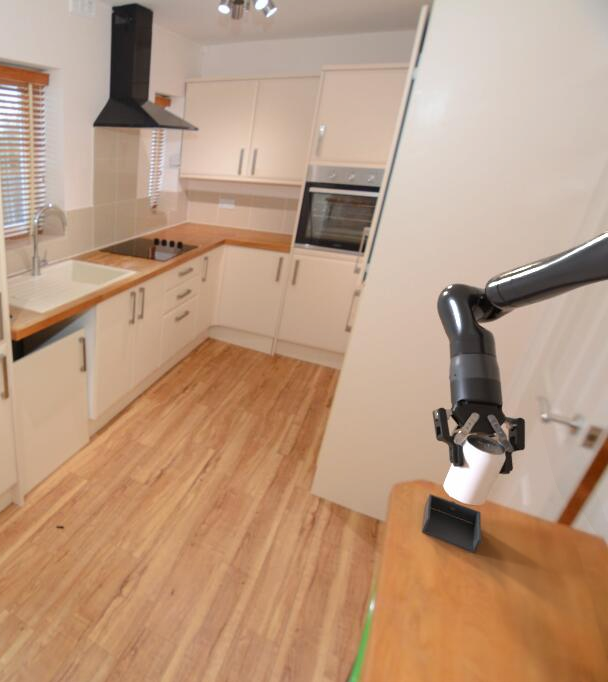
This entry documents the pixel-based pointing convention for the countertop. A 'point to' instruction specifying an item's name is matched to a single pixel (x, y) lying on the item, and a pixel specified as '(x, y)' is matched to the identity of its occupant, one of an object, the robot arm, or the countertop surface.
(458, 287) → the robot arm
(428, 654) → the countertop surface
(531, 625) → the countertop surface
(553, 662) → the countertop surface
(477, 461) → the can
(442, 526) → the tray
